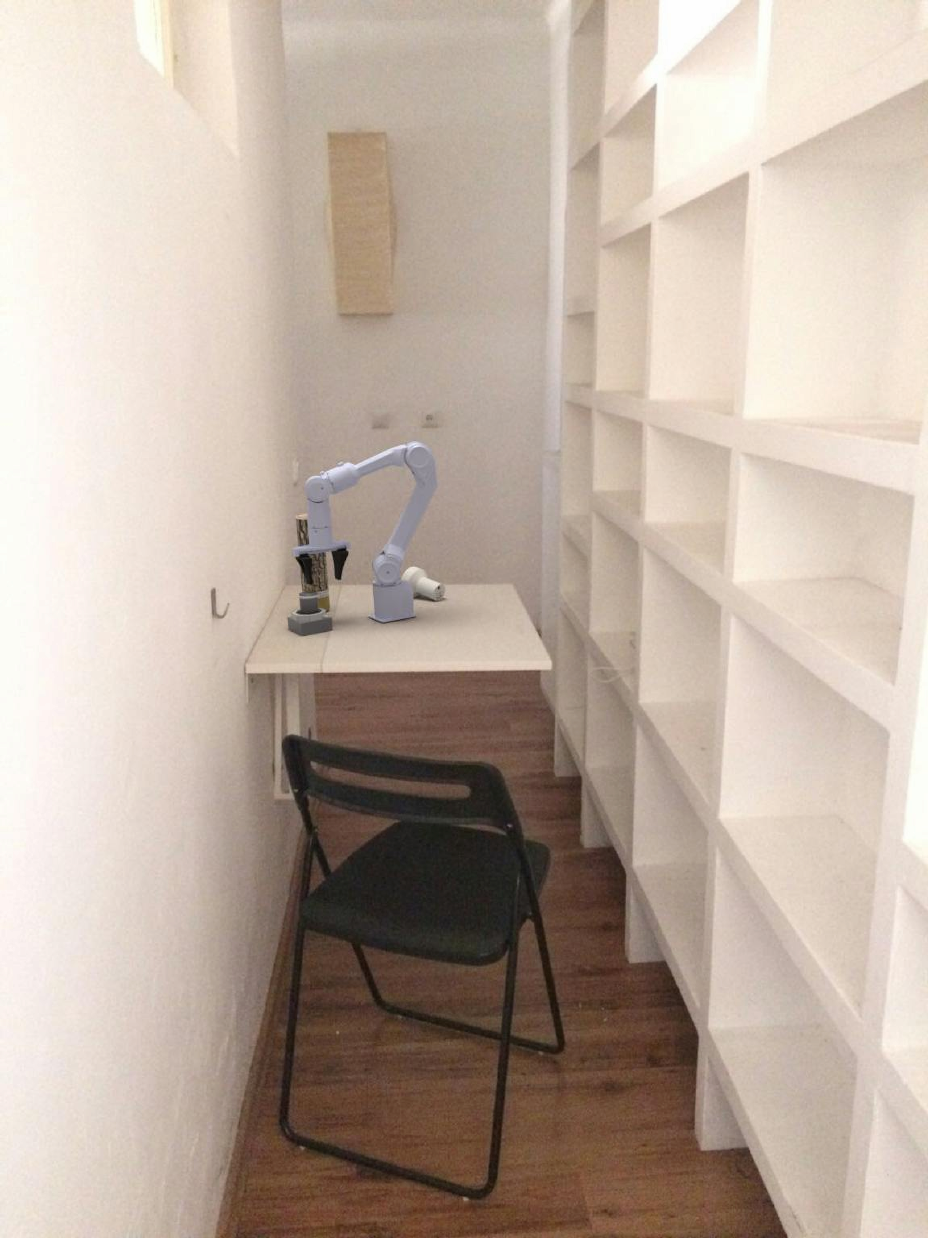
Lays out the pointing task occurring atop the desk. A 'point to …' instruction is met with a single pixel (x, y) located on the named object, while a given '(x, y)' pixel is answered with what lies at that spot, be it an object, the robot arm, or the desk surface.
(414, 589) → the spotlight
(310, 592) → the lens
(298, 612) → the mount
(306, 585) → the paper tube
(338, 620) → the desk surface
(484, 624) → the desk surface
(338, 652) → the desk surface
